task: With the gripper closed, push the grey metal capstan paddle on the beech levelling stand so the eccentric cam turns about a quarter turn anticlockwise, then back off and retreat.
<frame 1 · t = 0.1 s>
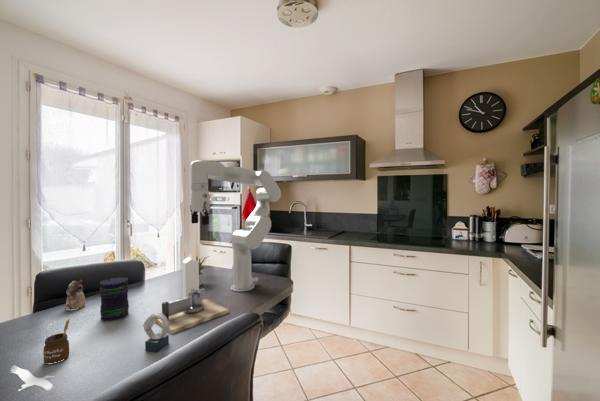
hand: (200, 223, 130), 37 cm above the table, tool pointing down, fingers open, 9 cm apart
white ring on base: (157, 347, 92), on the table
storage jar: (115, 316, 115), on the table
milk: (190, 301, 132), on the table
stand: (191, 315, 115), on the table
figurine: (75, 307, 124), on the table
house plant: (198, 283, 157), on the table
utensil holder: (57, 360, 85), on the table
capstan: (184, 303, 114), point 6 cm above the table, hinge at 0.0°
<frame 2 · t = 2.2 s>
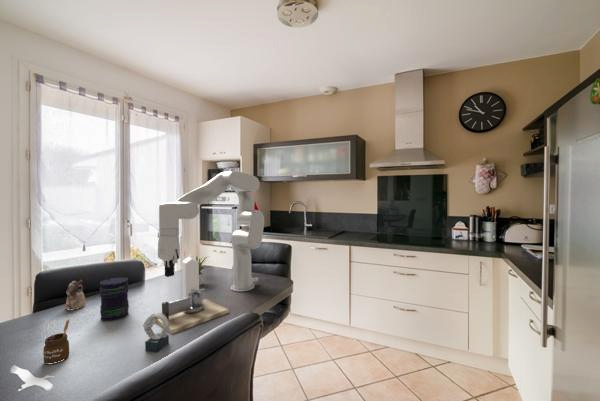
hand: (169, 275, 116), 16 cm above the table, tool pointing down, fingers closed
nothing on the table moved.
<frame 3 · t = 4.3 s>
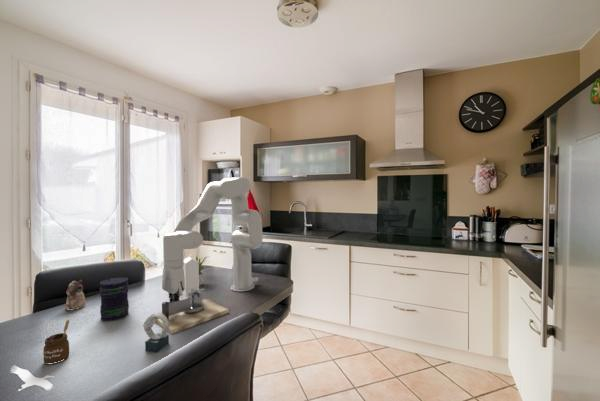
hand: (174, 307, 114), 4 cm above the table, tool pointing down, fingers closed
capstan: (184, 303, 114), point 6 cm above the table, hinge at 0.1°, touching gripper
everything else where it was.
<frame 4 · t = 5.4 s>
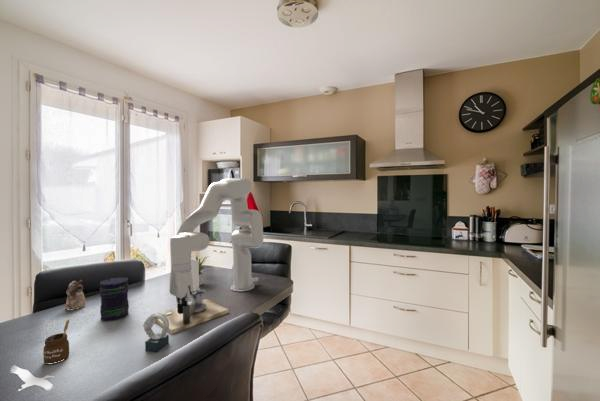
hand: (182, 312, 110), 4 cm above the table, tool pointing down, fingers closed
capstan: (192, 304, 113), point 6 cm above the table, hinge at 45.7°, touching gripper
everything else where it was.
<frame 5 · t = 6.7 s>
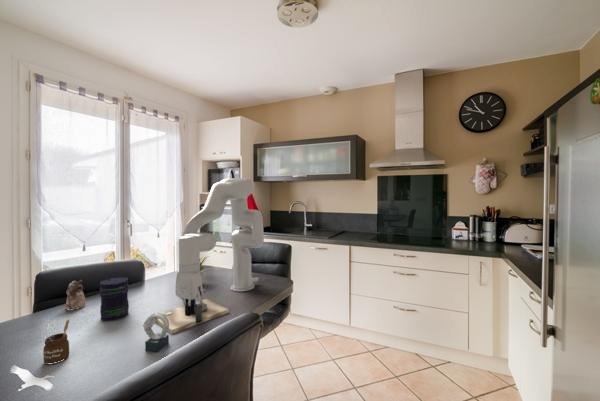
hand: (189, 314, 107), 4 cm above the table, tool pointing down, fingers closed
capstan: (197, 304, 113), point 6 cm above the table, hinge at 65.2°, touching gripper
everything else where it was.
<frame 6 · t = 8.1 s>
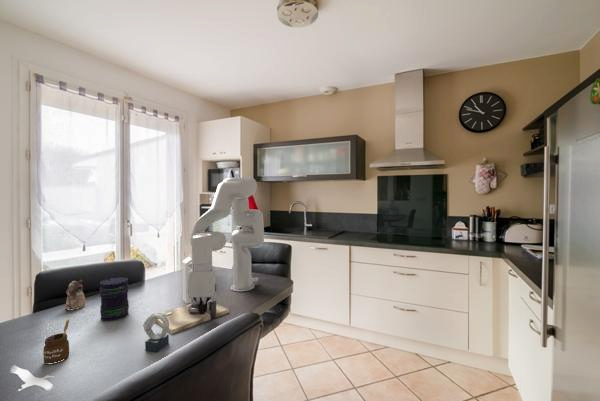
hand: (202, 313, 109), 4 cm above the table, tool pointing down, fingers closed
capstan: (203, 303, 114), point 6 cm above the table, hinge at 90.0°, touching gripper
everything else where it was.
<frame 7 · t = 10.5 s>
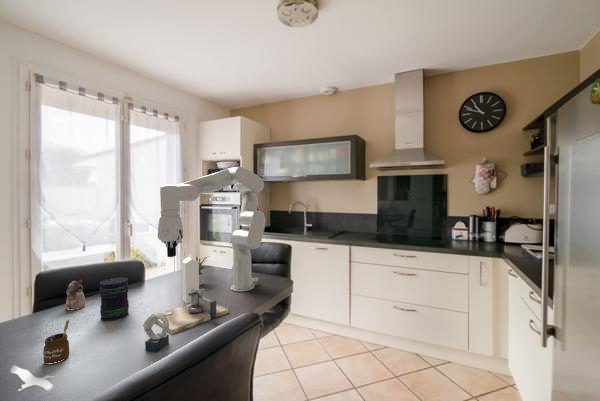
hand: (171, 256, 119), 24 cm above the table, tool pointing down, fingers closed
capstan: (203, 303, 114), point 6 cm above the table, hinge at 90.1°
everything else where it was.
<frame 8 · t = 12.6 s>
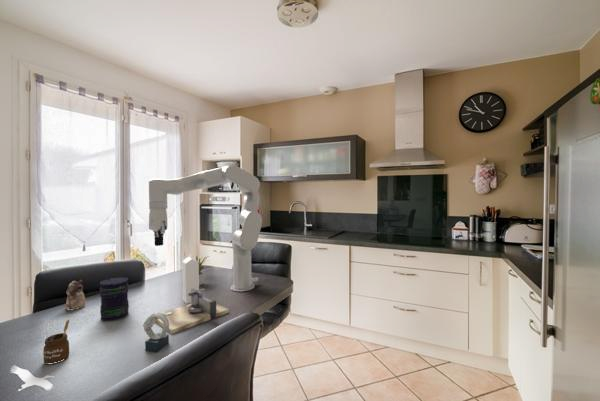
hand: (159, 245, 128), 27 cm above the table, tool pointing down, fingers closed
nothing on the table moved.
at the end: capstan at +90° (first picture: +0°) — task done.
